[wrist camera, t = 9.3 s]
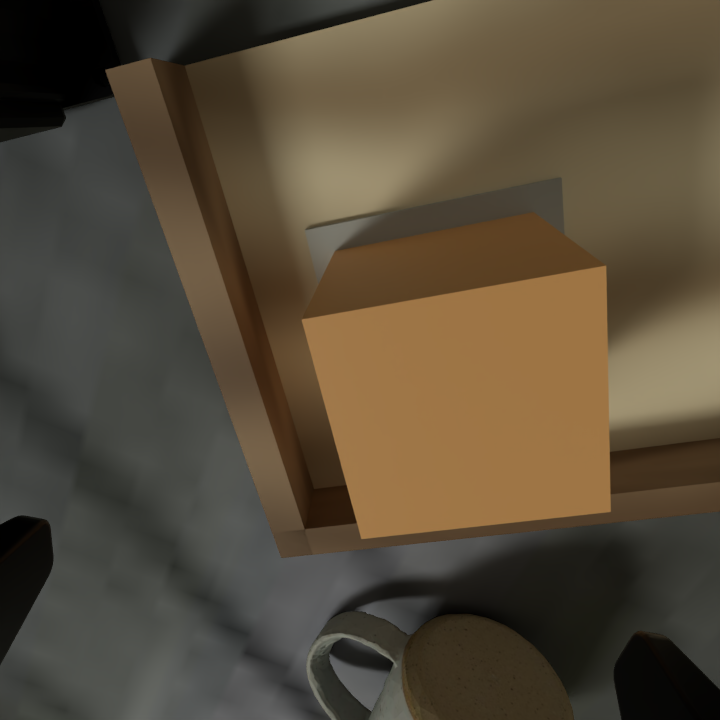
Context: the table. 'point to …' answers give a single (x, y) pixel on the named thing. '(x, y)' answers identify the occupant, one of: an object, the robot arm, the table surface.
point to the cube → (466, 376)
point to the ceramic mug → (442, 672)
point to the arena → (449, 215)
